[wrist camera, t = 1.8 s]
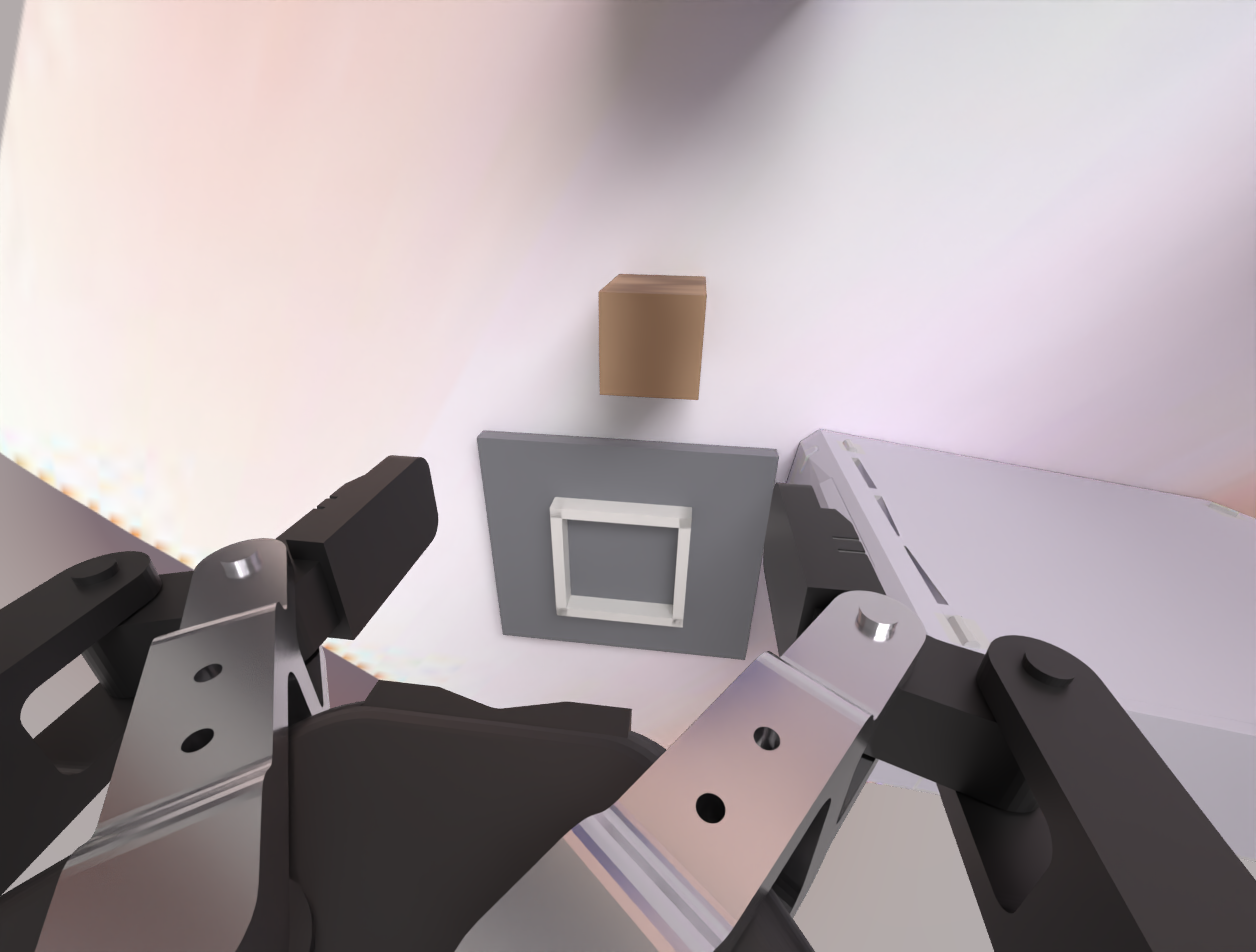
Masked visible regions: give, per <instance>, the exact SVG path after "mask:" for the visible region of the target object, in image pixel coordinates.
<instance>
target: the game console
mask: <svg viewBox="0 0 1256 952" xmlns="http://www.w3.org/2000/svg"><path fill="white" fill-rule="evenodd" d="M787 483H789V484H804V485H811V486H812V487H813V489H814V492H815V494H816V497H817V499H818V502H819V504H820V507H821V508H828V509H836V510H837V511H838V512H840V513H841V514H842V515H843V516H844V517H845V518H847V519H848V520H849V521H850V522H851V523H852V524H853V526H854V528H855V531H856V533H857V535H858V537H859V541H861V543H862V545H863V547H864V549H865V554H866V555H867V556H868V558H869V560H870V562H871V564H872V566H873V568H874V570H875V572H876V574H877V576H878V579H879V581H880V583H881V585H882V587H883V589H884V591H885V593H886V595H887V596H888V597H891V598H893V599H895V600H897V601H899V602H901V603H902V604H904V605H905V606H907V607H908V608H909V609H911V610H912V611H913V612H914V613H915V614H916V615H917V616H918V617H919V619H920V620H921V621H922V623H923V625H924V627H925V631H926V635H929V636H931V637H933V638H935V639H938V640H941V641H944V642H946V643H950V644H953V645H956V646H959V647H963V648H966V649H969V650H972V651H976V652H979V653H982V654H986V652H987V649H988V647H989V645H990V643H991V642H992V641H993V640H994V639H996V638H998V637H1001V636H1006V635H1019V636H1026V637H1032V638H1035V639H1039V640H1042V641H1045V642H1047V643H1050V644H1052V645H1055V646H1057V647H1059V648H1061V649H1063V650H1065V651H1067V652H1069V653H1070V654H1072V655H1073V656H1075V657H1077V658H1078V659H1080V660H1081V661H1082V662H1084V663H1085V664H1086V665H1087V666H1089V667H1090V668H1091V669H1092V670H1093V671H1094V672H1095V673H1096V674H1097V675H1098V677H1099V678H1100V679H1101V680H1102V681H1103V683H1104V684H1105V685H1106V687H1107V688H1108V689H1109V690H1110V692H1111V693H1112V694H1113V696H1114V697H1115V698H1116V700H1117V701H1118V702H1119V703H1120V705H1121V706H1122V707H1123V709H1124V710H1125V711H1126V713H1127V714H1128V715H1129V716H1130V718H1131V719H1132V720H1133V722H1134V723H1135V724H1136V726H1137V727H1138V728H1139V729H1140V731H1141V732H1142V733H1143V735H1144V736H1145V737H1146V739H1147V740H1148V741H1149V742H1150V744H1151V745H1152V746H1153V748H1154V749H1155V750H1156V752H1157V753H1158V754H1159V755H1160V757H1161V758H1162V759H1163V761H1164V762H1165V763H1166V765H1167V766H1168V767H1169V768H1170V770H1171V771H1172V772H1173V774H1174V775H1175V776H1176V778H1177V779H1178V780H1179V781H1180V783H1181V784H1182V785H1183V787H1184V788H1185V789H1186V791H1187V792H1188V793H1189V794H1190V796H1191V797H1192V798H1193V800H1194V801H1195V802H1196V804H1197V805H1198V806H1199V807H1200V809H1201V810H1202V811H1203V813H1204V814H1205V815H1206V817H1207V818H1208V819H1209V820H1210V822H1211V823H1212V824H1213V826H1214V827H1215V828H1216V830H1217V831H1218V832H1219V833H1220V835H1221V836H1222V837H1223V839H1224V840H1225V841H1226V843H1227V844H1228V845H1229V846H1230V848H1231V849H1232V850H1233V852H1234V853H1235V854H1236V856H1237V857H1238V858H1240V859H1244V860H1249V861H1254V862H1256V518H1253V517H1250V516H1248V515H1245V514H1242V513H1240V512H1238V511H1235V510H1233V509H1230V508H1227V507H1225V506H1222V505H1220V504H1217V503H1214V502H1211V501H1208V500H1203V499H1198V498H1192V497H1187V496H1181V495H1176V494H1170V493H1165V492H1160V491H1154V490H1149V489H1143V488H1138V487H1132V486H1127V485H1121V484H1116V483H1110V482H1105V481H1099V480H1094V479H1089V478H1083V477H1078V476H1072V475H1067V474H1061V473H1056V472H1050V471H1045V470H1039V469H1034V468H1028V467H1023V466H1018V465H1012V464H1007V463H1001V462H996V461H990V460H985V459H979V458H974V457H968V456H963V455H957V454H952V453H947V452H941V451H936V450H930V449H925V448H919V447H914V446H908V445H903V444H897V443H892V442H886V441H881V440H876V439H870V438H865V437H859V436H854V435H848V434H843V433H837V432H832V431H827V430H823V429H819V430H818V431H816V432H814V433H813V434H811V435H810V436H808V437H807V438H805V439H804V440H802V441H800V444H799V447H798V450H797V453H796V456H795V459H794V462H793V465H792V468H791V471H790V474H789V477H788V480H787ZM867 782H869V783H875V784H881V785H887V786H893V787H900V788H906V789H912V790H917V791H921V792H926V793H931V794H935V795H940V793H939V790H938V788H937V785H936V782H933V781H931V780H928V779H926V778H923V777H921V776H918V775H916V774H913V773H911V772H908V771H906V770H903V769H901V768H898V767H896V766H894V765H891V764H889V763H886V762H884V761H881V760H879V761H878V762H877V764H876V766H875V768H874V769H873V771H872V773H871V775H870V776H869V778H868V780H867Z"/></svg>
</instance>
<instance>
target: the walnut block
mask: <svg viewBox="0 0 1256 952" xmlns="http://www.w3.org/2000/svg"><path fill="white" fill-rule="evenodd" d="M706 298H707V293H706V277H700V276H667V275H634V274H619V275H618V276H616V277H615V278H614V279H613V280H612V281H611V282H610V283H608V284H607V285H606V286H605V287H604V288H603V289H601V290H600V291H599V367H600V395H616V396H635V397H653V398H671V399H690V400H698V396H699V384H700V372H701V359H702V347H703V335H704V322H705V310H706Z"/></svg>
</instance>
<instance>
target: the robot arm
mask: <svg viewBox="0 0 1256 952" xmlns="http://www.w3.org/2000/svg"><path fill="white" fill-rule="evenodd" d="M437 527H438V512H437V507H436V501H435V496H434V490H433V485H432V480H431V474H430V469H429V465H428V463H427V461H426V460H425V459H424V458H422V457H408V456H394V455H391V456H388V457H387V458H385V459H384V460H383V461H382V462H380V463H379V464H378V465H377V466H375V467H374V468H373V469H372V470H370V471H369V472H368V473H367V474H366V475H363V476H361V477H359V478H357V479H355V480H352V481H350V482H348V483H346V484H344V485H343V486H342V487H341V488H339V489H338V490H337V491H335V492H334V493H333V494H332V495H330V498H329V499H325V500H324V501H323V502H322V503H320V504H319V505H318V506H317V509H313V510H311V511H310V512H309V513H308V514H306V515H305V516H304V517H303V518H301V519H300V520H299V521H298V522H296V523H295V524H294V525H293V526H291V527H290V528H289V529H287V530H286V531H285V532H284V533H282V534H281V535H280V536H279V537H277V538H276V539H269V538H259V539H251V540H246V541H242V542H238V543H235V544H232V545H229V546H226V547H224V548H221V549H219V550H217V551H215V552H214V553H212V554H210V555H209V556H207V557H206V558H205V559H203V560H202V561H201V562H200V563H199V564H198V565H197V566H196V568H195V570H194V571H189V572H179V573H171V574H163V575H158V573H157V571H156V569H155V567H154V565H153V563H152V561H151V559H150V558H149V556H148V555H147V554H145V553H142V552H136V551H126V552H118V553H111V554H107V555H103V556H99V557H96V558H92V559H90V560H87V561H84V562H81V563H79V564H77V565H74V566H72V567H70V568H68V569H66V570H64V571H63V572H61V573H59V574H57V575H56V576H54V577H53V578H51V579H49V580H48V581H46V582H44V583H43V584H41V585H39V586H38V587H36V588H35V589H33V590H31V591H30V592H28V593H26V594H25V595H23V596H22V597H20V598H18V599H17V600H15V601H13V602H12V603H10V604H8V605H7V606H5V607H4V608H2V609H0V952H815V951H814V950H813V948H812V947H811V945H810V944H809V942H808V941H807V939H806V938H805V936H804V935H803V933H802V932H801V930H800V929H799V927H798V926H797V924H796V923H795V921H794V920H793V917H794V916H795V914H796V912H797V910H798V908H799V907H800V905H801V903H802V901H803V899H804V898H805V896H806V894H807V892H808V890H809V888H810V887H811V884H812V883H813V881H814V879H815V877H816V874H817V873H818V871H819V868H820V866H821V864H822V862H823V860H824V857H825V855H826V853H827V851H828V849H829V847H830V845H831V843H832V841H833V839H834V838H835V836H836V834H837V832H838V830H839V829H840V827H841V825H842V823H843V822H844V820H845V818H846V816H847V815H848V813H849V811H850V809H851V808H852V806H853V804H854V803H855V801H856V799H857V797H858V796H859V794H860V792H861V790H862V788H863V787H864V785H865V783H866V782H867V780H868V778H869V776H870V775H871V773H872V771H873V769H874V768H875V766H876V764H877V762H878V761H879V760H881V761H884V762H886V763H889V764H891V765H894V766H896V767H898V768H901V769H903V770H906V771H908V772H911V773H913V774H916V775H918V776H921V777H923V778H926V779H928V780H931V781H933V782H936V785H937V788H938V790H939V793H940V796H941V799H942V802H943V805H944V808H945V811H946V813H947V816H948V819H949V822H950V825H951V828H952V831H953V834H954V836H955V839H956V842H957V845H958V848H959V851H960V854H961V857H962V859H963V863H964V865H965V868H966V871H967V874H968V877H969V880H970V882H971V885H972V888H973V891H974V894H975V897H976V900H977V903H978V906H979V909H980V911H981V914H982V917H983V920H984V923H985V926H986V929H987V932H988V935H989V938H990V940H991V943H992V946H993V949H994V952H1256V880H1255V879H1254V878H1253V876H1252V875H1251V874H1250V872H1249V871H1248V870H1247V869H1246V867H1245V866H1244V865H1243V863H1242V862H1241V861H1240V860H1239V858H1238V857H1237V856H1236V854H1235V853H1234V852H1233V850H1232V849H1231V848H1230V846H1229V845H1228V844H1227V843H1226V841H1225V840H1224V839H1223V837H1222V836H1221V835H1220V833H1219V832H1218V831H1217V830H1216V828H1215V827H1214V826H1213V824H1212V823H1211V822H1210V820H1209V819H1208V818H1207V817H1206V815H1205V814H1204V813H1203V811H1202V810H1201V809H1200V807H1199V806H1198V805H1197V804H1196V802H1195V801H1194V800H1193V798H1192V797H1191V796H1190V794H1189V793H1188V792H1187V791H1186V789H1185V788H1184V787H1183V785H1182V784H1181V783H1180V781H1179V780H1178V779H1177V778H1176V776H1175V775H1174V774H1173V772H1172V771H1171V770H1170V768H1169V767H1168V766H1167V765H1166V763H1165V762H1164V761H1163V759H1162V758H1161V757H1160V755H1159V754H1158V753H1157V752H1156V750H1155V749H1154V748H1153V746H1152V745H1151V744H1150V742H1149V741H1148V740H1147V739H1146V737H1145V736H1144V735H1143V733H1142V732H1141V731H1140V729H1139V728H1138V727H1137V726H1136V724H1135V723H1134V722H1133V720H1132V719H1131V718H1130V716H1129V715H1128V714H1127V713H1126V711H1125V710H1124V709H1123V707H1122V706H1121V705H1120V703H1119V702H1118V701H1117V700H1116V698H1115V697H1114V696H1113V694H1112V693H1111V692H1110V690H1109V689H1108V688H1107V687H1106V685H1105V684H1104V683H1103V681H1102V680H1101V679H1100V678H1099V677H1098V675H1097V674H1096V673H1095V672H1094V671H1093V670H1092V669H1091V668H1090V667H1089V666H1087V665H1086V664H1085V663H1084V662H1082V661H1081V660H1080V659H1078V658H1077V657H1075V656H1073V655H1072V654H1070V653H1069V652H1067V651H1065V650H1063V649H1061V648H1059V647H1057V646H1055V645H1052V644H1050V643H1047V642H1045V641H1042V640H1039V639H1035V638H1032V637H1026V636H1019V635H1006V636H1001V637H998V638H996V639H994V640H993V641H992V642H991V643H990V645H989V647H988V649H987V652H986V654H982V653H979V652H976V651H972V650H969V649H966V648H963V647H959V646H956V645H953V644H950V643H946V642H944V641H941V640H938V639H935V638H933V637H931V636H929V635H926V631H925V627H924V625H923V623H922V621H921V620H920V619H919V617H918V616H917V615H916V614H915V613H914V612H913V611H912V610H911V609H909V608H908V607H907V606H905V605H904V604H902V603H901V602H899V601H897V600H895V599H893V598H891V597H888V596H887V595H886V593H885V591H884V589H883V587H882V585H881V583H880V581H879V579H878V576H877V574H876V572H875V570H874V568H873V566H872V564H871V562H870V560H869V558H868V556H867V555H866V554H865V549H864V547H863V545H862V543H861V541H859V537H858V535H857V533H856V531H855V528H854V526H853V524H852V523H851V522H850V521H849V520H848V519H847V518H845V517H844V516H843V515H842V514H841V513H840V512H838V511H837V510H836V509H828V508H821V507H820V504H819V502H818V499H817V497H816V494H815V492H814V489H813V487H812V486H811V485H804V484H789V483H776V484H775V486H774V489H773V494H772V500H771V506H770V512H769V518H768V524H767V530H766V536H765V542H764V552H763V565H764V573H765V579H766V584H767V590H768V596H769V601H770V607H771V612H772V618H773V624H774V629H775V635H776V641H777V646H778V652H779V657H778V656H776V655H775V654H773V653H772V652H769V651H767V652H764V653H762V654H761V655H760V656H758V657H757V658H756V659H755V660H754V661H753V662H752V663H751V664H750V665H749V666H748V667H747V668H746V669H745V670H744V672H743V673H742V674H741V675H740V676H739V677H738V678H737V679H736V680H735V681H734V682H733V683H732V684H731V685H730V686H729V687H728V688H727V689H726V690H725V691H724V692H723V693H722V694H721V695H720V696H719V697H718V698H717V699H716V700H715V701H714V702H713V703H712V704H711V705H710V706H709V707H708V708H707V709H706V710H705V711H704V712H703V713H702V714H701V716H700V717H699V718H698V719H697V720H696V721H695V722H694V723H693V724H692V725H691V726H690V727H689V728H688V729H687V730H686V731H685V732H684V733H683V734H682V735H681V736H680V737H679V738H678V739H677V740H676V741H675V742H674V743H673V744H672V745H671V746H670V747H669V748H668V749H667V750H666V749H665V748H663V747H662V746H660V745H659V744H657V743H656V742H654V741H652V740H650V739H648V738H647V737H645V736H643V735H640V734H638V733H635V732H633V731H631V712H632V709H628V708H619V707H610V706H601V705H593V704H584V703H575V702H559V703H550V704H540V705H531V706H522V707H513V708H504V709H497V708H492V707H489V706H486V705H484V704H481V703H478V702H476V701H473V700H471V699H468V698H466V697H463V696H461V695H458V694H456V693H453V692H450V691H448V690H445V689H443V688H440V687H436V686H427V685H418V684H409V683H401V682H392V681H383V680H378V682H377V683H376V685H375V687H374V688H373V690H372V691H371V692H370V694H369V695H368V697H367V698H366V700H365V701H361V702H355V703H350V704H346V705H341V706H338V707H335V708H332V709H330V706H329V695H328V685H327V673H326V662H325V655H324V652H323V649H322V646H321V644H322V643H323V642H324V641H325V640H326V638H327V637H329V638H339V639H348V640H354V639H355V638H356V637H357V636H358V634H359V633H360V632H361V631H362V629H363V628H364V627H365V626H366V624H367V623H368V622H369V620H370V619H371V618H372V617H373V615H374V614H375V613H376V612H377V610H378V609H379V608H380V607H381V605H382V604H383V603H384V601H385V600H386V599H387V598H388V596H389V595H390V594H391V593H392V591H393V590H394V589H395V588H396V586H397V585H398V584H399V583H400V581H401V580H402V579H403V577H404V576H405V575H406V574H407V572H408V571H409V570H410V569H411V567H412V566H413V565H414V564H415V562H416V561H417V560H418V558H419V557H420V556H421V555H422V553H423V552H424V551H425V550H426V548H427V547H428V546H429V545H430V543H431V542H432V541H433V539H434V537H435V535H436V532H437ZM80 654H82V656H83V657H84V659H85V660H86V662H87V663H88V665H89V666H90V668H91V669H92V671H93V672H94V674H95V676H96V677H97V679H98V680H99V683H98V684H97V685H96V686H95V687H94V688H92V689H91V690H90V691H89V692H88V693H87V694H86V695H84V696H83V697H82V698H81V699H80V700H79V701H77V702H76V703H75V704H74V705H72V706H71V707H70V708H69V709H68V710H67V711H65V712H64V713H63V714H62V715H61V716H60V717H58V718H57V719H56V720H55V721H54V722H52V723H51V724H50V725H49V726H48V727H47V728H45V729H44V730H43V731H42V732H41V733H40V734H38V735H37V736H36V737H35V738H34V739H33V738H32V737H31V736H30V735H29V733H28V732H27V731H26V730H25V728H24V727H23V726H22V724H21V720H20V713H21V709H22V707H23V704H24V703H25V701H26V699H27V698H28V697H29V695H30V694H31V693H32V692H33V691H34V690H35V689H36V688H38V687H39V686H40V685H41V684H42V683H44V682H45V681H46V680H48V679H49V678H50V677H52V676H53V675H54V674H56V673H57V672H58V671H59V670H61V669H62V668H63V667H65V666H66V665H67V664H68V663H70V662H71V661H72V660H74V659H75V658H76V657H78V656H79V655H80ZM109 782H110V784H109V787H108V791H107V794H106V798H105V801H104V804H103V808H102V811H101V814H100V818H99V821H98V825H97V827H96V830H95V832H94V834H93V836H92V837H91V839H90V840H89V841H88V842H86V843H85V844H83V845H82V846H80V847H79V848H77V850H75V851H74V852H73V854H71V855H70V856H68V857H66V858H65V859H63V860H61V861H59V862H58V863H56V864H54V865H53V866H51V867H49V868H48V869H46V870H44V871H42V872H41V873H39V874H37V875H35V876H34V877H32V878H30V879H29V880H27V881H25V882H24V883H22V884H20V885H19V886H17V887H15V888H13V889H12V890H10V891H8V892H7V893H5V894H3V895H2V893H4V892H5V890H7V888H8V887H9V886H10V885H11V884H12V883H13V882H14V881H15V880H16V879H17V878H18V877H19V876H20V875H21V874H22V873H23V872H24V871H25V870H26V868H28V867H29V866H30V864H31V863H32V862H33V861H34V860H35V859H36V858H37V857H38V856H39V855H40V854H41V853H42V852H43V851H44V850H45V849H46V848H47V847H48V845H50V843H52V841H53V840H54V839H55V838H56V837H57V836H58V835H59V834H60V833H61V832H62V831H63V830H64V829H65V828H66V827H67V826H68V825H69V824H70V823H71V821H72V820H74V818H75V817H76V816H77V815H78V814H79V813H80V812H81V811H82V810H83V809H84V808H85V807H86V806H87V805H88V804H89V803H90V802H91V801H92V799H94V797H96V795H97V794H98V793H99V792H100V791H101V790H102V789H103V788H104V787H105V786H106V785H107V784H108V783H109Z"/></svg>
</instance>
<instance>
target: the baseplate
mask: <svg viewBox="0 0 1256 952" xmlns="http://www.w3.org/2000/svg"><path fill="white" fill-rule="evenodd" d="M477 443H478V451H479V458H480V466H481V473H482V481H483V488H484V496H485V503H486V511H487V518H488V526H489V533H490V541H491V548H492V556H493V563H494V571H495V578H496V586H497V593H498V601H499V608H500V616H501V623H502V631H503V635H512V636H521V637H531V638H540V639H550V640H559V641H569V642H579V643H588V644H598V645H607V646H617V647H626V648H636V649H645V650H655V651H665V652H674V653H684V654H693V655H703V656H712V657H722V658H731V659H741V660H745V657H746V651H747V645H748V639H749V633H750V627H751V621H752V615H753V609H754V603H755V597H756V591H757V585H758V579H759V573H760V567H761V561H762V555H763V549H764V542H765V536H766V530H767V524H768V518H769V512H770V506H771V500H772V494H773V489H774V483H775V477H776V471H777V465H778V459H779V456H778V453H777V449H766V448H750V447H734V446H719V445H703V444H687V443H671V442H655V441H639V440H624V439H608V438H592V437H576V436H560V435H544V434H529V433H513V432H497V431H482V433H481V434H480V435H479V436H478V437H477Z"/></svg>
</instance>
